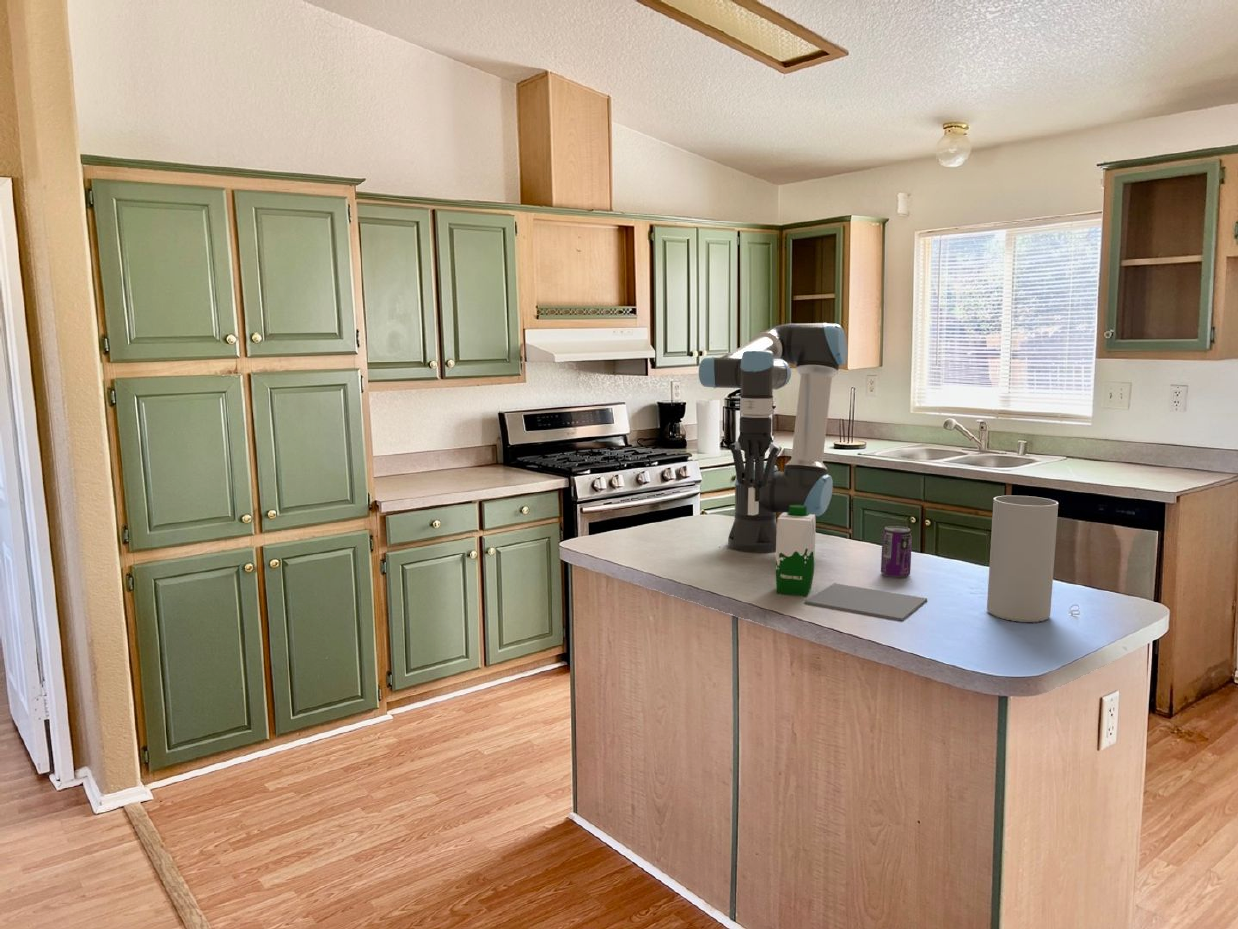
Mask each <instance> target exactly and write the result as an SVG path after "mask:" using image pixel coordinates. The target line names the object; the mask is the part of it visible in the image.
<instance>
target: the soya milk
mask: <svg viewBox="0 0 1238 929" xmlns="http://www.w3.org/2000/svg"><path fill="white" fill-rule="evenodd" d="M806 513H807V506H805V505H790V506H789V512H788V513H786V512H783V513H780V515H779V516H778V518H777V521H776V523H777V528H776V531H777V535H776V551H775V582H776V594H779V593H780V594H781V595H782V594H783V595H791V596H799V595H803V596H802V597H808V595H809V593H810V592H811V590H810V589H812V586H813V582H814V574H815V564H816V563H815V561H816V560H815V559H816V553H815V552H816V516H815V515H814V514H806Z"/></svg>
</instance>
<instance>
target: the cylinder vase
mask: <svg viewBox="0 0 1238 929" xmlns="http://www.w3.org/2000/svg"><path fill="white" fill-rule="evenodd" d="M1058 510H1059V502H1058V501H1057V500H1054V499H1051V498H1046V497H1045V498H1044V497H1038V496H1029V495H1001V496H1000V495H999V496H998V495H997V496H995V497H993V506H992V519H991V533H990V534H991V536H990V537H991V538H990V551H989V553H990V554H989V567H988V586H987V600H986V609H987V612H988V613H990V614H991V615H993V616H994V617H995V618H998V619H1002V620H1005V619H1006V620H1007V621H1009V620H1011V621H1010V622H1015V621H1018V623H1026V622H1033V623H1040V622H1039V621H1042V622H1045V621H1046V619H1047V620H1048V619H1049V618H1050V616H1051V612H1052V611H1051V609H1052V595H1053V581H1054V567H1055V556H1056V555H1055V554H1056V553H1055V552H1056V542H1057V527H1058V526H1057V524H1058V513H1059V511H1058ZM1044 620H1045V621H1044Z"/></svg>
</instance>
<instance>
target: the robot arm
mask: <svg viewBox="0 0 1238 929" xmlns="http://www.w3.org/2000/svg"><path fill="white" fill-rule="evenodd" d="M847 344H848V343H847V337H846V334H845V331H844V328H843V326H841V325H840V324H838V323H832V322H831V323H830V322H829V323H827V322H815V323H814V322H813V323H811V322H810V323H809V322H808V323H801V322H800V323H793V322H792V323H791V322H790V323H783V324H779V325H776V326H772V327H769V328H768V329H766V330H763V331H761V332H759V333H757V334H756V335H754V336H753V337H752V338H751V341H749V342H747V343H745V344H743V345H742V346H740V347H738V348H736V349H734V350H733V351H730V352H729V353H727V354H725V355H722V356H720V357H715V356H712V357H705V358H703V359H701V361H700V363H699V366H698V379H699V382H700V384H701V385H702V386H703V387H705V388H714V389H717V388H719V389H720V388H721V389H740V396H739V397H740V400H739V402H740V404H739V414H740V415H742V416H740V417H739V429H738V430H739V435H738V437H737V440H736V441H735V442H733V443H730V444H729V445H728V448H729V450H730V452H731V453H732V458H733V459H732V460H733V464H734V469H735V482H734V520H733V523H732V525H731V529H730V530H729V535H728V538H727V546H728V548H731V549H733V550H736V551H740V552H749V553H771V552H776V535H777V531H776V528H777V514H782V513H783V512H786V513H788V512H789V506H790V505H805V506H807V513H806V514H814V515H815V517H820V516H822V515H824V514H825V512H826V510H827V509H828V508H829V504H830V503H831V499H832V495H833V489H834V486H833V484H834V481H833V477H832V476H831V475H829V474H828V467H826V465H825V464H824V452H825V442H826V435H827V434H826V433H827V426H828V416H829V409H830V408H829V407H830V398H831V389H832V380H833V378H834V377H835V376H836V375H838V374H839V367H842V366H844V365H846V364H847V358H848V345H847ZM790 365H793V366H794V365H796V367H795V370H796V372H797V373H798V374H799V375H800V377H799V378H800V380H799V386H798V387H799V388H798V398H797V405H796V414H795V422H794V423H795V425H794V432H793V441H792V452H791V456H790V457H791V459H790V460H789V461H787V462H786V463H785V464H784V469H783V470H784V471H779V469H778V466H777V465H776V464H777V463H776V462H777V459H778V456H779V454H780V453H781V451H782V447H781V446H778V445H776V444H775V443H774V441H773V438H772V431H773V430H772V424H773V421H772V420H773V419H772V417H770V416H771V415H772V414H773V392H774V390H779V389H781V388H784V387H785V386H786V385H788V384H789V381H790V380H791V376H792V370H791V369H792V368H791V366H790ZM742 450H743V453H744V455H743V453H742ZM767 451H768V452H769V454H768V457H767V460H766V463H765V458H766V453H767ZM743 457H744V458H743Z"/></svg>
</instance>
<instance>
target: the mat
mask: <svg viewBox="0 0 1238 929" xmlns="http://www.w3.org/2000/svg"><path fill="white" fill-rule="evenodd" d="M926 602H928V598H926V597H922V596H921V597H920V596H917V595H916V596H915V595H910V594H902V593H896V592H891V591H885V590H884V591H883V590H880V589H879V590H878V589H872V588H865V587H859V586H855V585H848V584H841V583H832V584H831V585H829V586H828V587H826V588H824V589H822V590H820V591H819V592H817V593H815V594H814V595H812V596H811V597H809V598H807V599H805V600H804V602H803V603H804V604H806V605H811V606H815V607H822V608H827V609H834V610H838V611H844V612H850V613H855V614H860V615H861V614H862V615H865V616H866V615H867V616H872V617H878V618H882V619H889V620H892V621H893V620H895V621H900V622H904V620H906V619H907V618H908V617H910V616H911V615H912V614H913V613H914V612H916V611H917V610H918V609H919V608H920V607H922V605H924V604H925V603H926Z"/></svg>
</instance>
